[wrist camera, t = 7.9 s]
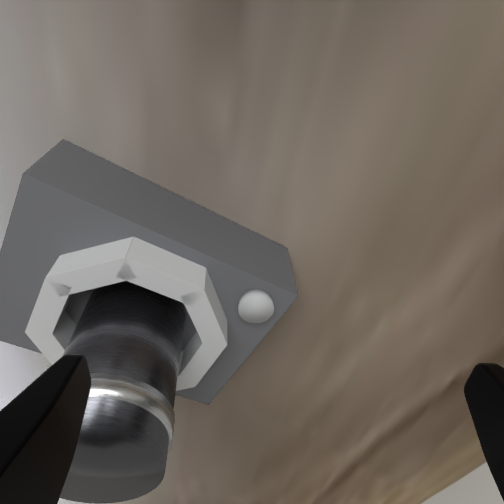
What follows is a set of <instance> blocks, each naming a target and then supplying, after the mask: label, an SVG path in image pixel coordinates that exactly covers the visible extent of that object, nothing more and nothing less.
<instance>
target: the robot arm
mask: <svg viewBox="0 0 504 504" xmlns="http://www.w3.org/2000/svg"><path fill="white" fill-rule="evenodd" d="M90 389H91V376H90V372H89V368H88V364H87V360H86V357H85V356H84V355H82V354H66V355H64V356H62V357H61V358H60V359H59V360H58V361H56V362H55V363H54V364H53V365H52V366H51V367H50V368H48V369H47V370H46V371H45V372H44V373H43V374H42V375H41V376H39V377H38V378H37V379H36V380H35V381H34V382H33V383H31V384H30V385H29V386H28V387H27V388H26V389H25V390H24V391H22V392H21V393H20V394H19V395H18V396H17V397H16V398H14V399H13V400H12V401H11V402H10V403H9V404H8V405H7V406H5V407H4V408H3V409H2V410H1V411H0V504H57V503H58V500H59V497H60V495H61V492H62V489H63V486H64V483H65V481H66V478H67V475H68V472H69V470H70V467H71V464H72V461H73V458H74V454H75V450H76V447H77V443H78V439H79V434H80V430H81V426H82V422H83V418H84V414H85V410H86V406H87V402H88V398H89V394H90ZM464 394H465V398H466V401H467V404H468V407H469V410H470V413H471V416H472V419H473V422H474V426H475V429H476V432H477V435H478V438H479V441H480V444H481V447H482V450H483V453H484V456H485V458H486V461H487V463H488V466H489V468H490V471H491V473H492V475H493V478H494V480H495V482H496V484H497V487H498V489H499V491H500V494H501V496H502V498H503V501H504V368H502V367H501V366H499V365H497V364H494V363H479V364H477V365H476V366H475V367H474V369H473V371H472V373H471V374H470V376H469V378H468V380H467V382H466V383H465V386H464Z"/></svg>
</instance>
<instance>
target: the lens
mask: <svg viewBox="0 0 504 504" xmlns="http://www.w3.org/2000/svg"><path fill="white" fill-rule="evenodd" d="M185 319H186V313H185V308H184V305H183V303H182V302H180V301H177V300H175V299H172V298H169V297H167V296H164V295H162V294H159V293H157V292H154V291H152V290H149V289H146V288H144V287H141V286H139V285H136V284H134V283H131V282H129V281H123V282H119V283H115V284H111V285H107V286H103V287H98V288H96V289H95V290H94V291H93V292H92V294H91V296H90V297H89V300H88V302H87V304H86V306H85V308H84V310H83V313H82V315H81V317H80V319H79V321H78V323H77V326H76V328H75V330H74V332H73V334H72V336H71V339H70V341H69V343H68V345H67V347H66V349H65V351H64V354H63V356H64V355H66V354H82V355H84V356H85V357H86V360H87V364H88V368H89V372H90V376H91V389H90V394H89V398H88V402H87V406H86V410H85V414H84V418H83V422H82V426H81V430H80V434H79V439H78V443H77V447H76V450H75V454H74V458H73V461H72V464H71V467H70V470H69V472H68V475H67V478H66V481H65V483H64V486H63V489H62V492H61V495H60V497H59V498H62V499H67V500H71V501H77V502H85V503H115V502H122V501H127V500H131V499H134V498H138V497H140V496H143V495H145V494H147V493H149V492H150V491H152V490H153V489H155V488H156V487H157V486H158V485H159V484H160V483H161V481H162V480H163V477H164V474H165V467H166V460H167V453H168V451H169V450H170V447H171V444H172V438H173V430H174V422H175V414H174V410H173V408H174V400H175V393H176V386H177V378H178V371H179V363H180V356H181V348H182V341H183V333H184V326H185Z"/></svg>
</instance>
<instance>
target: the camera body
mask: <svg viewBox="0 0 504 504" xmlns="http://www.w3.org/2000/svg"><path fill="white" fill-rule="evenodd" d="M123 281H129V282H131V283H134V284H136V285H139V286H141V287H144V288H146V289H149V290H152V291H154V292H157V293H159V294H162V295H164V296H167V297H169V298H172V299H175V300H177V301H180V302H182V303H183V305H184V308H185V313H186V319H185V326H184V333H183V341H182V348H181V356H180V363H179V371H178V378H177V386H176V393H175V395H178V396H182V397H185V398H188V399H191V400H195V401H198V402H201V403H204V404H208V405H209V403H210V402H211V401H212V400H213V399H214V397H215V396H216V395H217V394H218V393H219V391H220V390H221V389H222V388H223V386H224V385H225V384H226V383H227V382H228V380H229V379H230V378H231V377H232V376H233V374H234V373H235V372H236V371H237V369H238V368H239V367H240V366H241V365H242V363H243V362H244V361H245V360H246V359H247V357H248V356H249V355H250V354H251V352H252V351H253V350H254V349H255V348H256V346H257V345H258V344H259V343H260V342H261V340H262V339H263V338H264V337H265V335H266V334H267V333H268V332H269V331H270V329H271V328H272V327H273V326H274V325H275V323H276V322H277V321H278V320H279V318H280V317H281V316H282V315H283V314H284V312H285V311H286V310H287V309H288V308H289V306H290V305H291V304H292V303H293V301H294V300H295V299H296V298H297V297H298V292H297V288H296V283H295V279H294V275H293V270H292V266H291V262H290V257H289V253H288V249H287V248H286V247H284V246H282V245H280V244H278V243H276V242H274V241H272V240H270V239H268V238H266V237H263V236H261V235H259V234H257V233H255V232H253V231H251V230H249V229H247V228H245V227H243V226H241V225H239V224H237V223H235V222H233V221H230V220H228V219H226V218H224V217H222V216H220V215H218V214H216V213H214V212H212V211H210V210H208V209H206V208H204V207H202V206H200V205H198V204H195V203H193V202H191V201H189V200H187V199H185V198H183V197H181V196H179V195H177V194H175V193H173V192H171V191H169V190H167V189H165V188H162V187H160V186H158V185H156V184H154V183H152V182H150V181H148V180H146V179H144V178H142V177H140V176H138V175H136V174H134V173H132V172H130V171H127V170H125V169H123V168H121V167H119V166H117V165H115V164H113V163H111V162H109V161H107V160H105V159H103V158H101V157H99V156H97V155H95V154H92V153H90V152H88V151H86V150H84V149H82V148H80V147H78V146H76V145H74V144H72V143H70V142H68V141H66V140H64V139H63V140H62V141H60V142H59V143H58V144H57V145H56V146H54V147H53V148H52V149H51V150H50V151H49V152H47V153H46V154H45V155H44V156H43V157H42V158H40V159H39V160H38V161H37V162H36V163H35V164H33V165H32V166H31V167H30V168H29V169H28V170H26V171H25V172H24V173H23V175H22V178H21V182H20V185H19V189H18V192H17V196H16V199H15V203H14V206H13V210H12V213H11V217H10V220H9V224H8V227H7V230H6V234H5V237H4V241H3V244H2V248H1V251H0V341H3V342H6V343H10V344H13V345H16V346H19V347H23V348H26V349H29V350H32V351H36V352H39V353H42V354H43V355H44V356H45V357H46V358H47V360H48V361H49V362H50V363H51V365H53V364H54V363H55V362H56V361H58V360H59V359H60V358H61V357H62V356H63V354H64V351H65V349H66V347H67V345H68V343H69V341H70V339H71V336H72V334H73V332H74V330H75V328H76V326H77V323H78V321H79V319H80V317H81V315H82V313H83V310H84V308H85V306H86V304H87V302H88V300H89V297H90V296H91V294H92V292H93V291H94V290H95V289H96V288H98V287H103V286H107V285H111V284H115V283H119V282H123Z"/></svg>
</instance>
